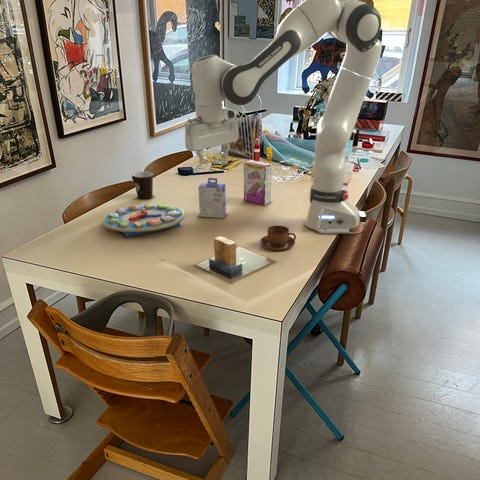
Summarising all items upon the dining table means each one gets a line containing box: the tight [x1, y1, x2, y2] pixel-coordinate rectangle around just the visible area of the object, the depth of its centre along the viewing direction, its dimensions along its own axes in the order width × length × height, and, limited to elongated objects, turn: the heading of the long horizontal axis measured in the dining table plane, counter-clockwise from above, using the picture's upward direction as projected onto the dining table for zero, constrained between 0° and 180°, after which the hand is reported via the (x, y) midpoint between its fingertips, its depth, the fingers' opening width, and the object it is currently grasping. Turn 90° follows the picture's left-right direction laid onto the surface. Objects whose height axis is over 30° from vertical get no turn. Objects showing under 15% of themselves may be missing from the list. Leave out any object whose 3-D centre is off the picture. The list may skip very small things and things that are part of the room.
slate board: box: [195, 246, 275, 282], centre depth 154 cm, size 20×16×1 cm
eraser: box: [208, 235, 242, 274], centre depth 149 cm, size 10×5×9 cm, turn 45°
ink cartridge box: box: [198, 177, 227, 219], centre depth 188 cm, size 10×6×14 cm, turn 78°
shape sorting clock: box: [102, 203, 185, 238], centre depth 182 cm, size 31×30×6 cm
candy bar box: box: [243, 159, 273, 206], centre depth 201 cm, size 11×5×16 cm, turn 53°
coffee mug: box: [131, 171, 154, 201], centre depth 209 cm, size 12×9×10 cm
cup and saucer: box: [260, 225, 297, 251], centre depth 165 cm, size 12×12×6 cm
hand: (214, 160), depth 156 cm, fingers open, 8 cm apart
